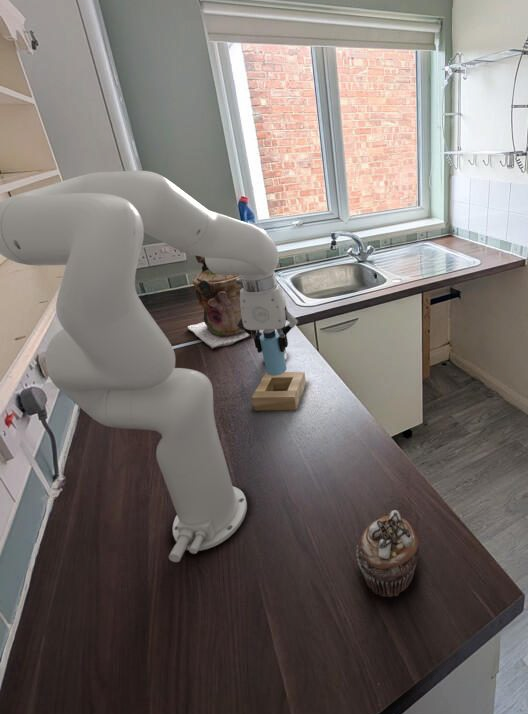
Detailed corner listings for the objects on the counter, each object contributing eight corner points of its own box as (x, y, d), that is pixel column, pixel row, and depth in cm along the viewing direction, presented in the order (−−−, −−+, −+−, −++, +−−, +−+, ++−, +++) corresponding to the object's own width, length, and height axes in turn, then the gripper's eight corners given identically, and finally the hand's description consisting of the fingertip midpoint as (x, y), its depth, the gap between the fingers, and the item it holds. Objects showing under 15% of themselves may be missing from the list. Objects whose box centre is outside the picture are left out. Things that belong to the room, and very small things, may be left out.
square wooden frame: (296, 409, 100) (294, 396, 99) (254, 410, 101) (251, 397, 100) (306, 383, 110) (304, 371, 109) (267, 384, 111) (265, 372, 110)
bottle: (283, 375, 100) (275, 335, 96) (263, 376, 101) (255, 336, 96) (288, 364, 105) (281, 325, 100) (270, 364, 105) (262, 326, 101)
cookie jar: (249, 306, 161) (232, 228, 148) (281, 324, 144) (266, 238, 132) (186, 329, 145) (161, 244, 133) (214, 353, 128) (189, 258, 116)
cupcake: (394, 529, 70) (391, 487, 66) (432, 575, 62) (431, 530, 58) (347, 565, 64) (340, 521, 61) (382, 619, 57) (378, 573, 53)
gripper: (216, 290, 90) (233, 358, 97) (291, 287, 89) (302, 356, 96) (230, 277, 97) (244, 342, 104) (299, 275, 96) (309, 340, 103)
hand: (272, 348), depth 100 cm, fingers closed on bottle, 5 cm apart
